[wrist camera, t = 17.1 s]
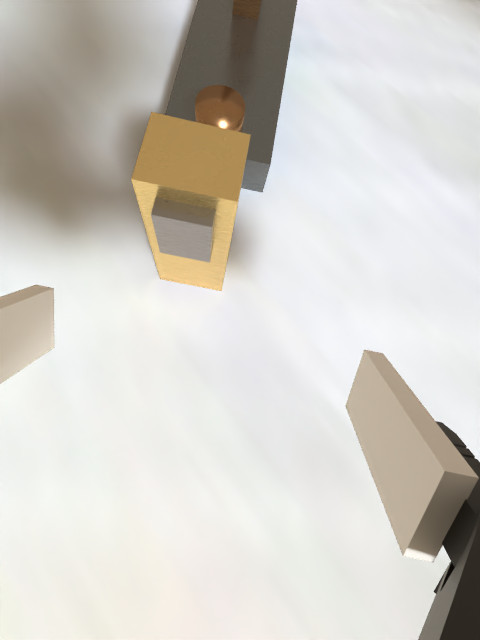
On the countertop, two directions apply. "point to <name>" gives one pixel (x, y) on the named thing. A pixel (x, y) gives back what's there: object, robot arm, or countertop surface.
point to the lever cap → (189, 196)
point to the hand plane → (236, 73)
